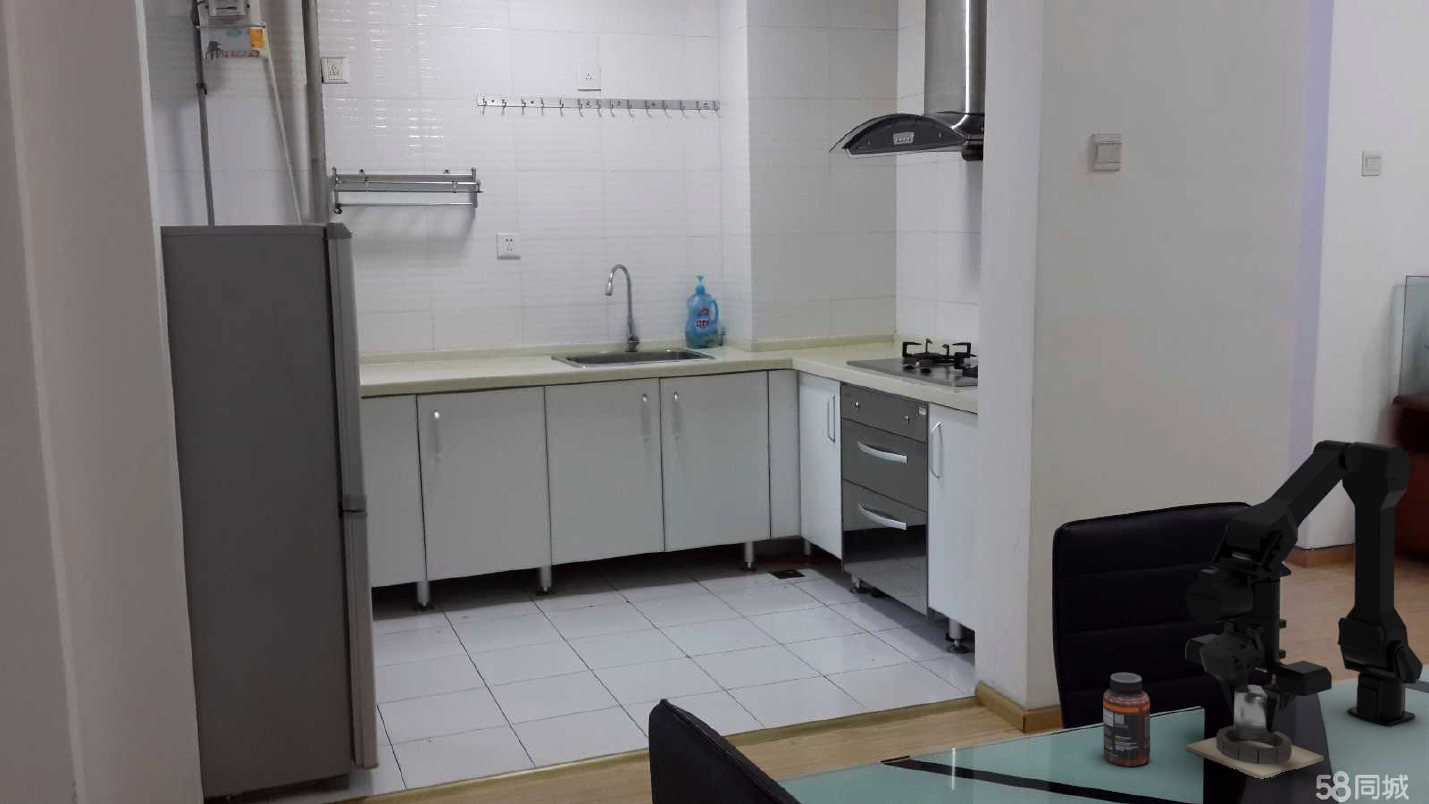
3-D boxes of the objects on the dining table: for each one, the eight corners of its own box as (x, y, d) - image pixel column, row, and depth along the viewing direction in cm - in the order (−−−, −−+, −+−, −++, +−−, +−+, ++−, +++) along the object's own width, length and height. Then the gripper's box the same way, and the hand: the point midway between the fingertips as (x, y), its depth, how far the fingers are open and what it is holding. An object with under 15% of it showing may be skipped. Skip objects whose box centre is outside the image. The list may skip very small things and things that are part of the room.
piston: (1251, 725, 169) (1251, 682, 169) (1283, 737, 165) (1283, 693, 164) (1225, 732, 167) (1226, 689, 166) (1257, 744, 163) (1258, 700, 162)
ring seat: (1246, 732, 174) (1246, 715, 174) (1323, 760, 164) (1323, 743, 164) (1185, 749, 169) (1186, 732, 168) (1261, 780, 158) (1262, 762, 158)
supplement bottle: (1144, 750, 169) (1144, 669, 168) (1155, 768, 163) (1155, 684, 162) (1098, 750, 169) (1099, 669, 168) (1108, 767, 164) (1108, 684, 162)
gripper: (1157, 605, 169) (1156, 716, 170) (1277, 639, 152) (1274, 762, 154) (1214, 593, 174) (1212, 701, 175) (1335, 624, 157) (1333, 743, 159)
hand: (1254, 726), depth 166 cm, fingers closed on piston, 5 cm apart
